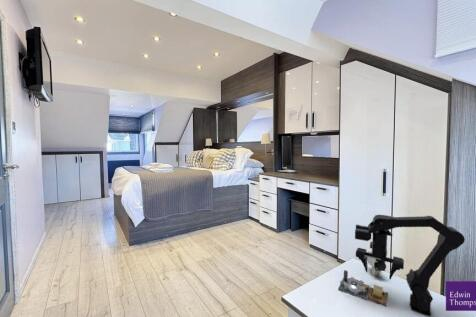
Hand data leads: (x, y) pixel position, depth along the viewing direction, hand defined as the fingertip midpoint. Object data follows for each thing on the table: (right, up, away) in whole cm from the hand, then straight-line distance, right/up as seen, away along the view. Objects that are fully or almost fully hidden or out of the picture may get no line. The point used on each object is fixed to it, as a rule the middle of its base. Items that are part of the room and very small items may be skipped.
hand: (378, 275), depth 105 cm
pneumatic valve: (+11, -10, +20) cm, 25 cm away
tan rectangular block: (0, -10, 0) cm, 10 cm away
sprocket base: (-7, -10, +7) cm, 15 cm away
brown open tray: (0, -11, 0) cm, 11 cm away
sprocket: (-7, -10, +7) cm, 15 cm away
